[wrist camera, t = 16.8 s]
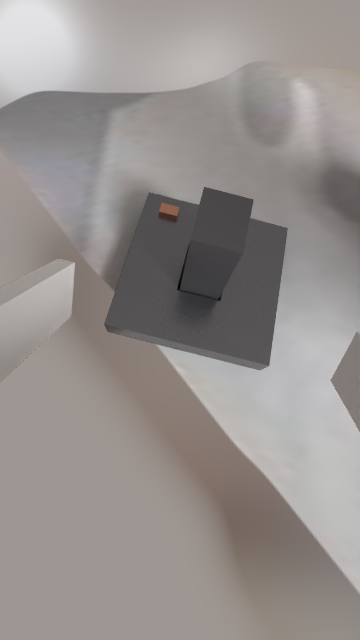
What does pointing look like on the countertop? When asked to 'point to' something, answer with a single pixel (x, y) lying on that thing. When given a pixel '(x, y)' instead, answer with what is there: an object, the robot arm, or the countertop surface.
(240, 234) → the plug
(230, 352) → the socket plate
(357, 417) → the robot arm
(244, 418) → the countertop surface
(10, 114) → the countertop surface
